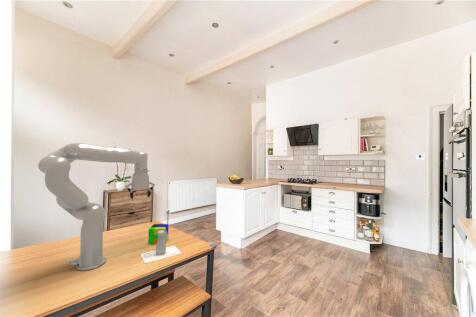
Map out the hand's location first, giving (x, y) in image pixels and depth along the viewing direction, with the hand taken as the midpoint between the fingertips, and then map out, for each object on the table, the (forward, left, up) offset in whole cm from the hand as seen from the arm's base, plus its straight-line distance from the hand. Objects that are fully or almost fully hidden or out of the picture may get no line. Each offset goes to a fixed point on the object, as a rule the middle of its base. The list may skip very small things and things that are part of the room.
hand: (140, 197), depth 129 cm
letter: (+8, -20, -30) cm, 37 cm away
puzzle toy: (+12, -1, -31) cm, 33 cm away
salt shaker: (+8, -20, -30) cm, 37 cm away
